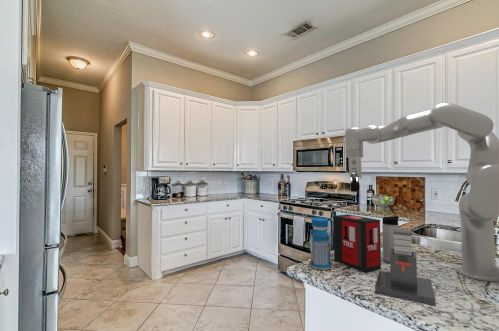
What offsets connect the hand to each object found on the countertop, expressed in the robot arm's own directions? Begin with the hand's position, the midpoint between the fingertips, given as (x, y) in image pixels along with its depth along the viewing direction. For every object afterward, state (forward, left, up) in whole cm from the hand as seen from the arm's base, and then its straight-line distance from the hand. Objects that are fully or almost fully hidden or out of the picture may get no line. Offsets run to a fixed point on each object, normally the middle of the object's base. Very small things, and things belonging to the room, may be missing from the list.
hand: (355, 191), depth 119 cm
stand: (-19, +26, -31) cm, 44 cm away
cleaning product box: (-1, +9, -31) cm, 32 cm away
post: (-19, +26, -28) cm, 43 cm away
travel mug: (-14, -2, -31) cm, 34 cm away
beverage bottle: (+11, +20, -31) cm, 38 cm away
